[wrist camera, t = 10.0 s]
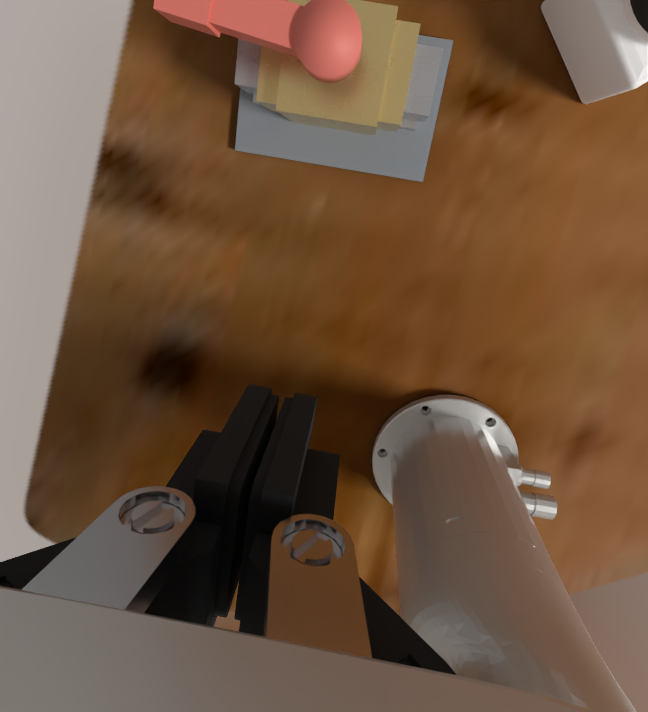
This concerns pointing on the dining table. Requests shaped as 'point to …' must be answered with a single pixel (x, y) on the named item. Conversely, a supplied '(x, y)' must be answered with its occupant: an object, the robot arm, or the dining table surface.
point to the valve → (350, 78)
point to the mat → (343, 136)
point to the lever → (281, 29)
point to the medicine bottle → (601, 44)
